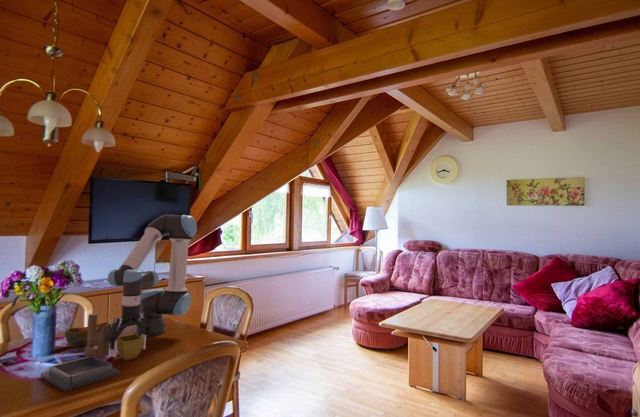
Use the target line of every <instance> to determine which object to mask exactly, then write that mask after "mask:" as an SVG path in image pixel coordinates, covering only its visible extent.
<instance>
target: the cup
mask: <svg viewBox="0 0 640 417" xmlns="http://www.w3.org/2000/svg"><path fill="white" fill-rule="evenodd" d="M113 323H114V322H112V323H110V322H108V321H105V322H102V323H99V324H98V323H97V333H98V332H99V331H100V330H101V329H102V328H103V326H106V325H109V324H110V329H111V327H112V325H113ZM87 333H88V326H85V327H73V328H66V329H65V331H64V337H65V340H66V342H67V344H69V346H70V347H71V348H73V347H75V348H74V349H85V347H86V346H87ZM96 346H97V341H96Z"/></svg>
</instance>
